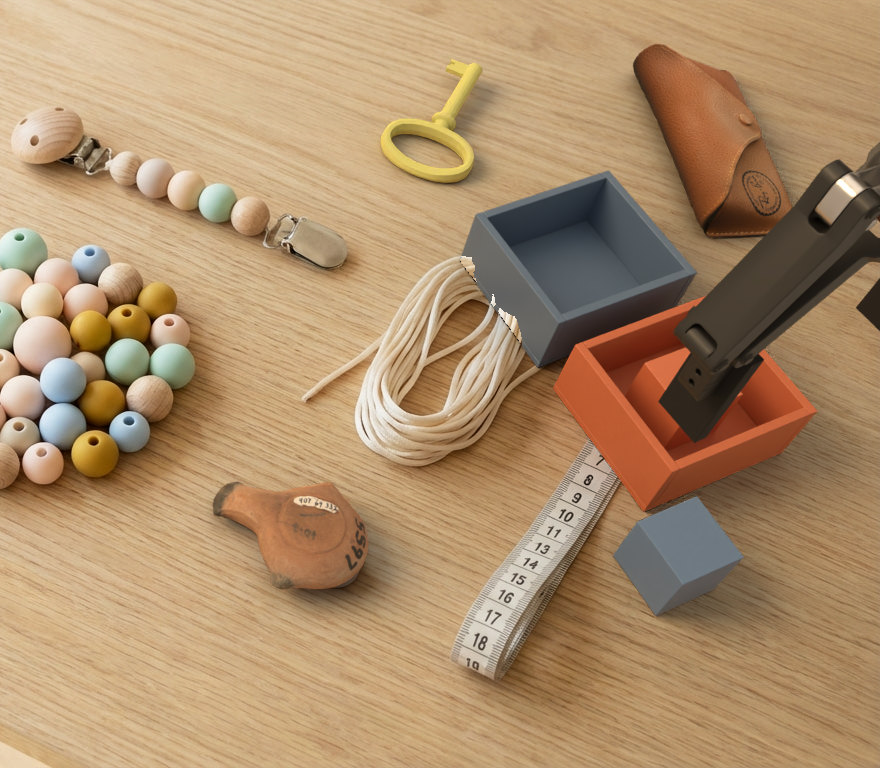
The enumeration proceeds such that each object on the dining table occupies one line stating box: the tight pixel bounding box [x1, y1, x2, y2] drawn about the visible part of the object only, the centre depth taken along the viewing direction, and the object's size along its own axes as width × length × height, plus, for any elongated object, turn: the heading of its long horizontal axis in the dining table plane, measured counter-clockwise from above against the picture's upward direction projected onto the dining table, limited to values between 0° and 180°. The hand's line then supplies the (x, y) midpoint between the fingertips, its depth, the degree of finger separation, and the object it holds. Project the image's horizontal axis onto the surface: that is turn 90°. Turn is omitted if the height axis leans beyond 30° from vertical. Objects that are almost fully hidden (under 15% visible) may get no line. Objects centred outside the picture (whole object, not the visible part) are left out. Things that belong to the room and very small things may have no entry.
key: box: [380, 58, 483, 184], centre depth 95 cm, size 7×12×2 cm, turn 169°
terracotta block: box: [625, 348, 743, 451], centre depth 78 cm, size 4×4×4 cm
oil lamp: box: [212, 481, 369, 590], centre depth 73 cm, size 9×4×8 cm
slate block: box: [612, 496, 745, 617], centre depth 72 cm, size 4×4×4 cm
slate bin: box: [460, 170, 698, 368], centre depth 85 cm, size 11×10×5 cm
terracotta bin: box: [552, 295, 818, 512], centre depth 79 cm, size 11×10×5 cm
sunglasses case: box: [632, 43, 793, 239], centre depth 94 cm, size 18×7×7 cm
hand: (783, 370), depth 62 cm, fingers open, 13 cm apart
